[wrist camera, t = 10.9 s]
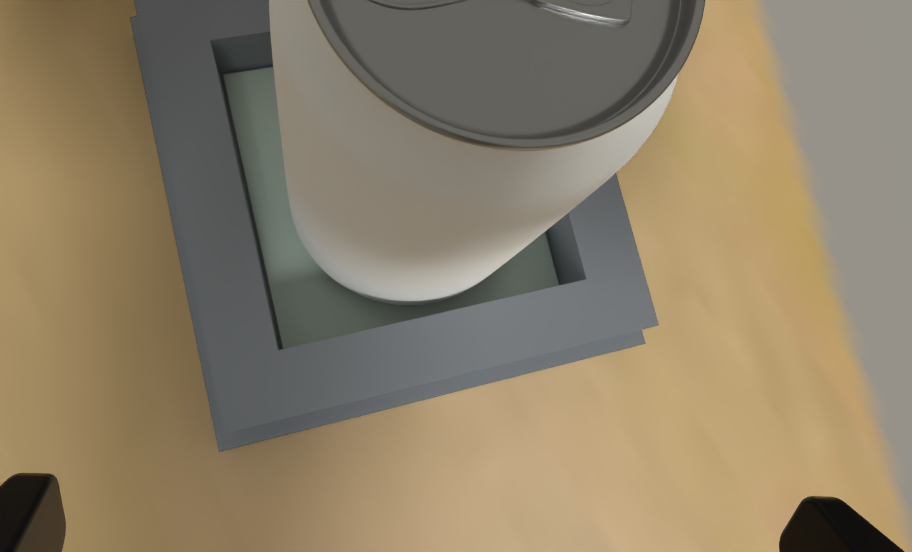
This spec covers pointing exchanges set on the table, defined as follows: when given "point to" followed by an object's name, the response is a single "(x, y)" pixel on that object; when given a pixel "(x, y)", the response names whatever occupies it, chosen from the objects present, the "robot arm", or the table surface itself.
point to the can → (459, 125)
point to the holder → (310, 288)
